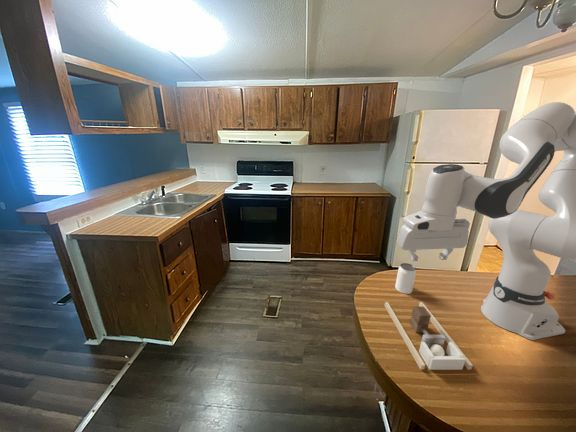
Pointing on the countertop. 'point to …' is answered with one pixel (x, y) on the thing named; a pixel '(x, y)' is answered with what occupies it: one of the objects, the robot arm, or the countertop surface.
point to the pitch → (409, 343)
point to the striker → (424, 327)
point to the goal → (443, 358)
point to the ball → (437, 350)
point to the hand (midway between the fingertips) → (428, 259)
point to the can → (405, 278)
